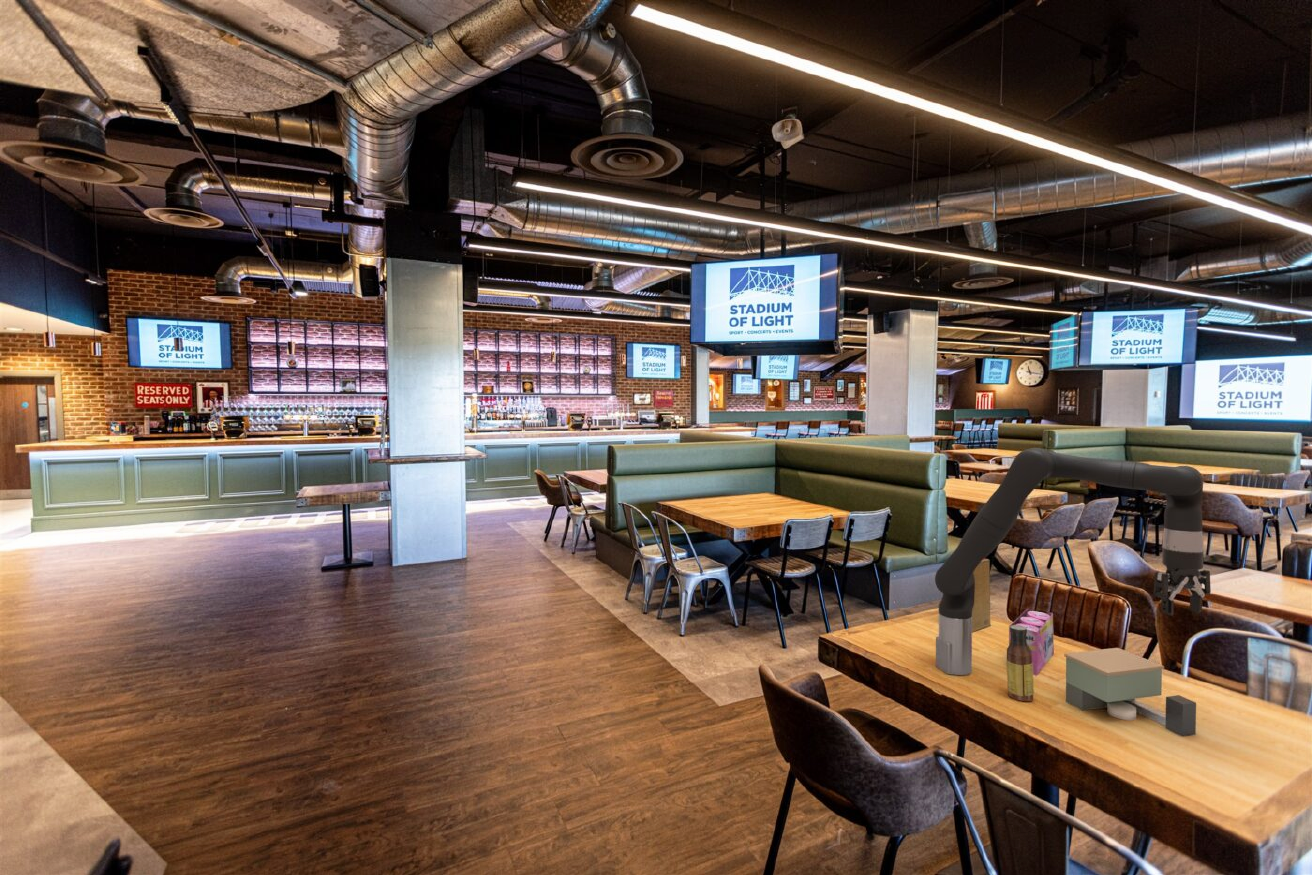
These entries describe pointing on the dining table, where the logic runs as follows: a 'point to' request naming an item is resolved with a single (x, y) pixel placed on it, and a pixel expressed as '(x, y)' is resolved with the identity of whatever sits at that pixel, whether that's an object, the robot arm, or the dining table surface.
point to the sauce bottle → (1019, 665)
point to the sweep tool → (1172, 714)
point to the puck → (1121, 710)
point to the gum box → (1037, 636)
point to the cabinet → (1109, 677)
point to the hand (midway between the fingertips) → (1181, 612)
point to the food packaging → (981, 596)
